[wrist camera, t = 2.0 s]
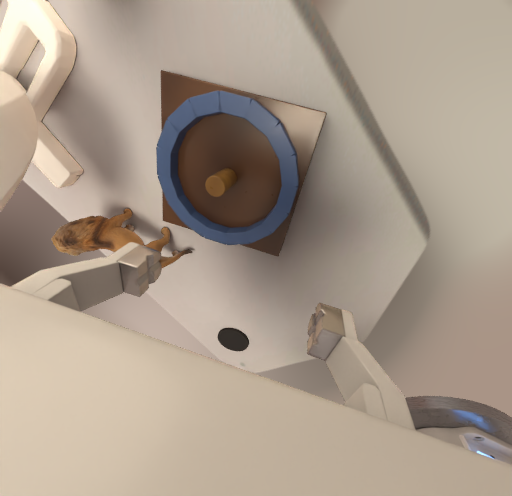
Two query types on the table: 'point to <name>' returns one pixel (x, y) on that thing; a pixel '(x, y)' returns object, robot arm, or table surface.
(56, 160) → the jewelry stand
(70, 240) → the lion figurine
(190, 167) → the platform
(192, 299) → the table surface
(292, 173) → the ring
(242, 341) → the mat
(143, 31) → the table surface
